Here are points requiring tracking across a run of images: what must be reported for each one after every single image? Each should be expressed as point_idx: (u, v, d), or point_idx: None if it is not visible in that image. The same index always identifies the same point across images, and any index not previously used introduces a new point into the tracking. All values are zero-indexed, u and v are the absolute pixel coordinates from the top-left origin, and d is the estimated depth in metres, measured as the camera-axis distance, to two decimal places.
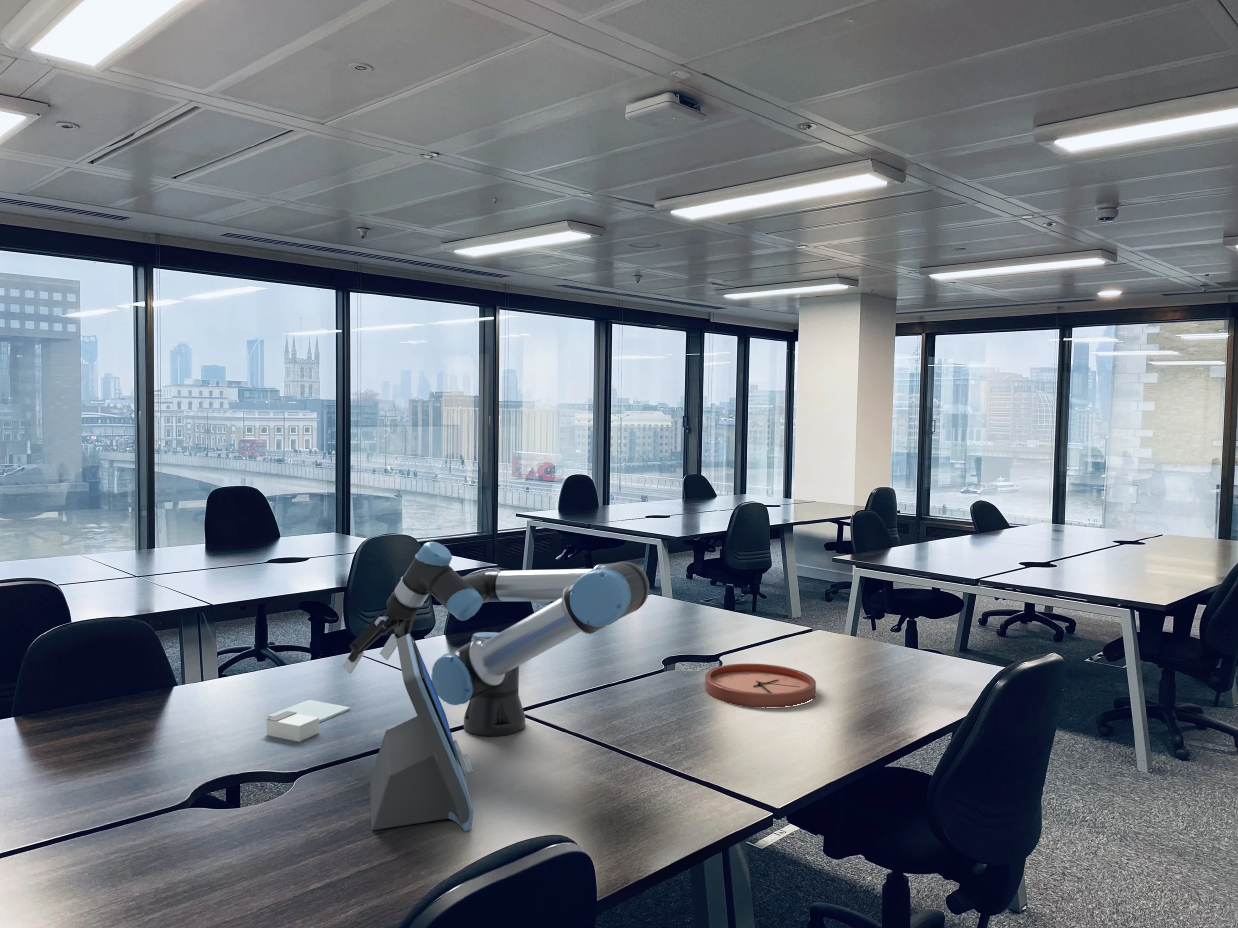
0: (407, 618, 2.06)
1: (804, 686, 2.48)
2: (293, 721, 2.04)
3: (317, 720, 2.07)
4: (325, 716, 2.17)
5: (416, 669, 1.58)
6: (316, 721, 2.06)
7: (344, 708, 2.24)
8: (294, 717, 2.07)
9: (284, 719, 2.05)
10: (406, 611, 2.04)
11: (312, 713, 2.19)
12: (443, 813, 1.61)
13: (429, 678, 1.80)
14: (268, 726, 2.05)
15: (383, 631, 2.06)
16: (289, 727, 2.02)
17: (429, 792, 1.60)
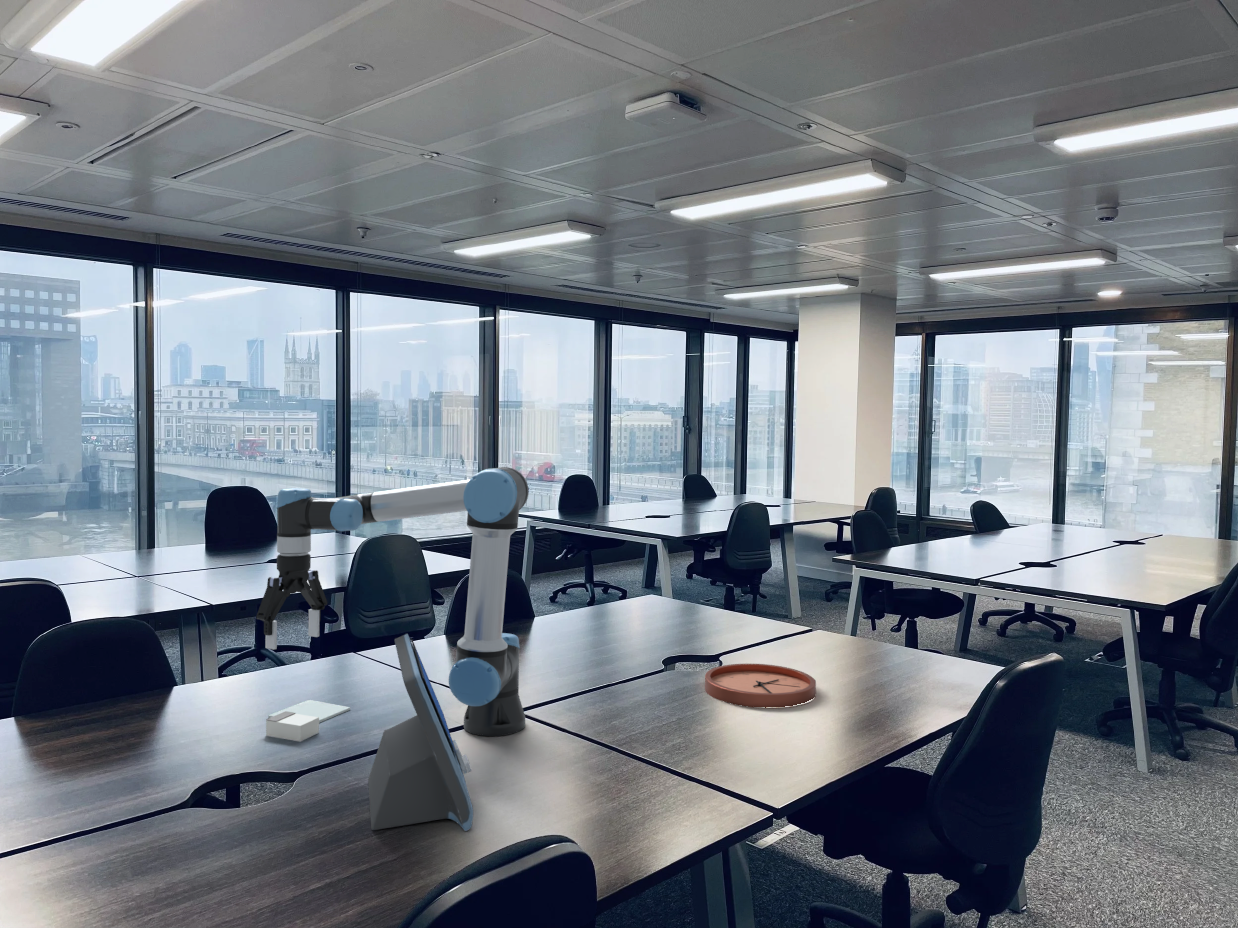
0: (300, 568, 2.02)
1: (804, 686, 2.48)
2: (294, 721, 2.04)
3: (317, 719, 2.07)
4: (325, 716, 2.17)
5: (416, 669, 1.58)
6: (316, 721, 2.07)
7: (344, 708, 2.24)
8: (293, 717, 2.07)
9: (284, 719, 2.05)
10: (295, 560, 2.01)
11: (312, 713, 2.19)
12: (443, 812, 1.61)
13: (427, 678, 1.80)
14: (267, 726, 2.05)
15: (285, 592, 2.01)
16: (290, 727, 2.02)
17: (429, 792, 1.60)
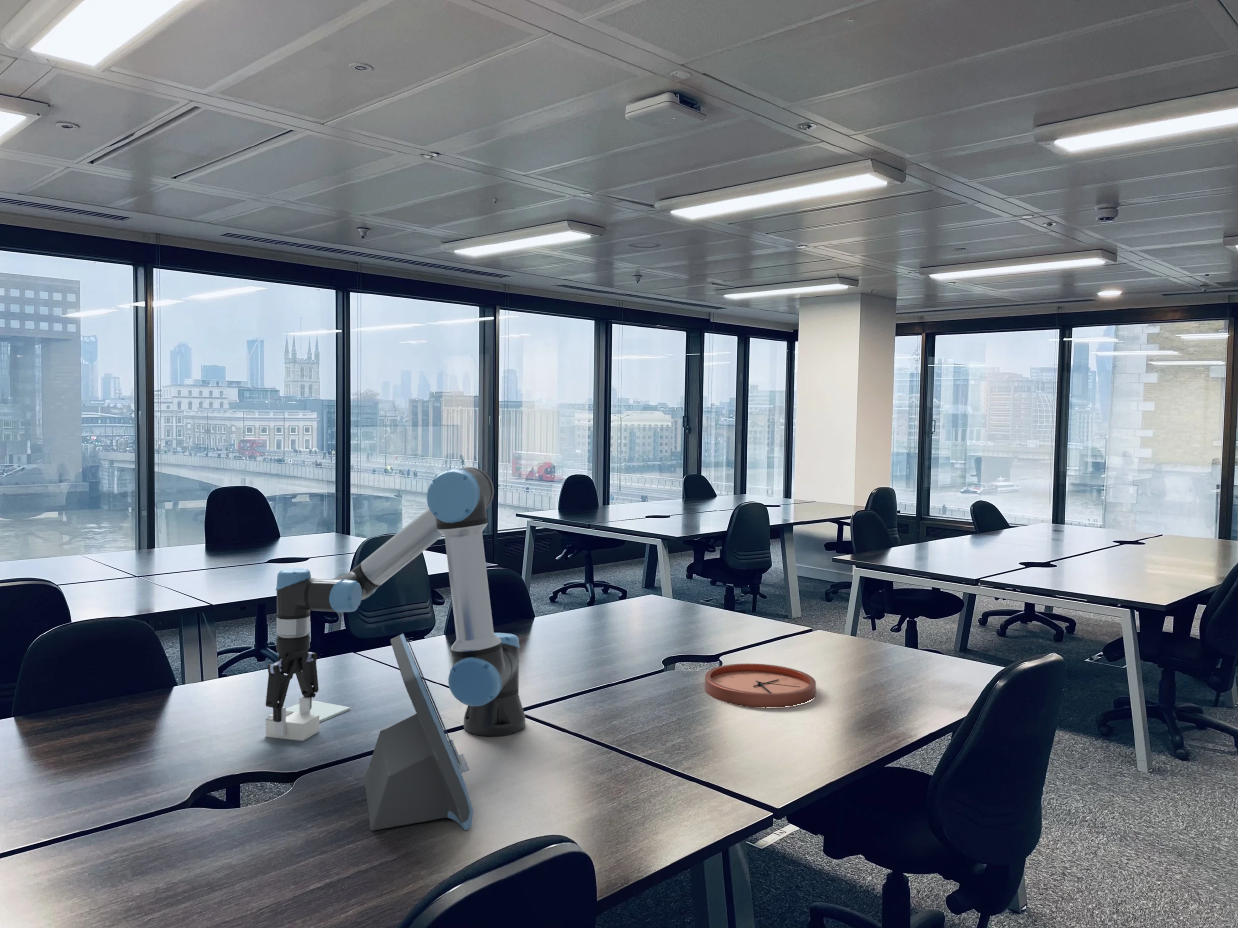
0: (300, 649, 2.03)
1: (804, 686, 2.48)
2: (295, 720, 2.04)
3: (318, 717, 2.08)
4: (325, 716, 2.17)
5: (415, 669, 1.58)
6: (317, 719, 2.07)
7: (344, 708, 2.24)
8: (293, 716, 2.07)
9: None
10: (295, 642, 2.02)
11: (312, 713, 2.19)
12: (442, 812, 1.61)
13: (424, 678, 1.80)
14: (267, 726, 2.04)
15: (287, 676, 2.02)
16: (292, 726, 2.02)
17: (428, 791, 1.60)
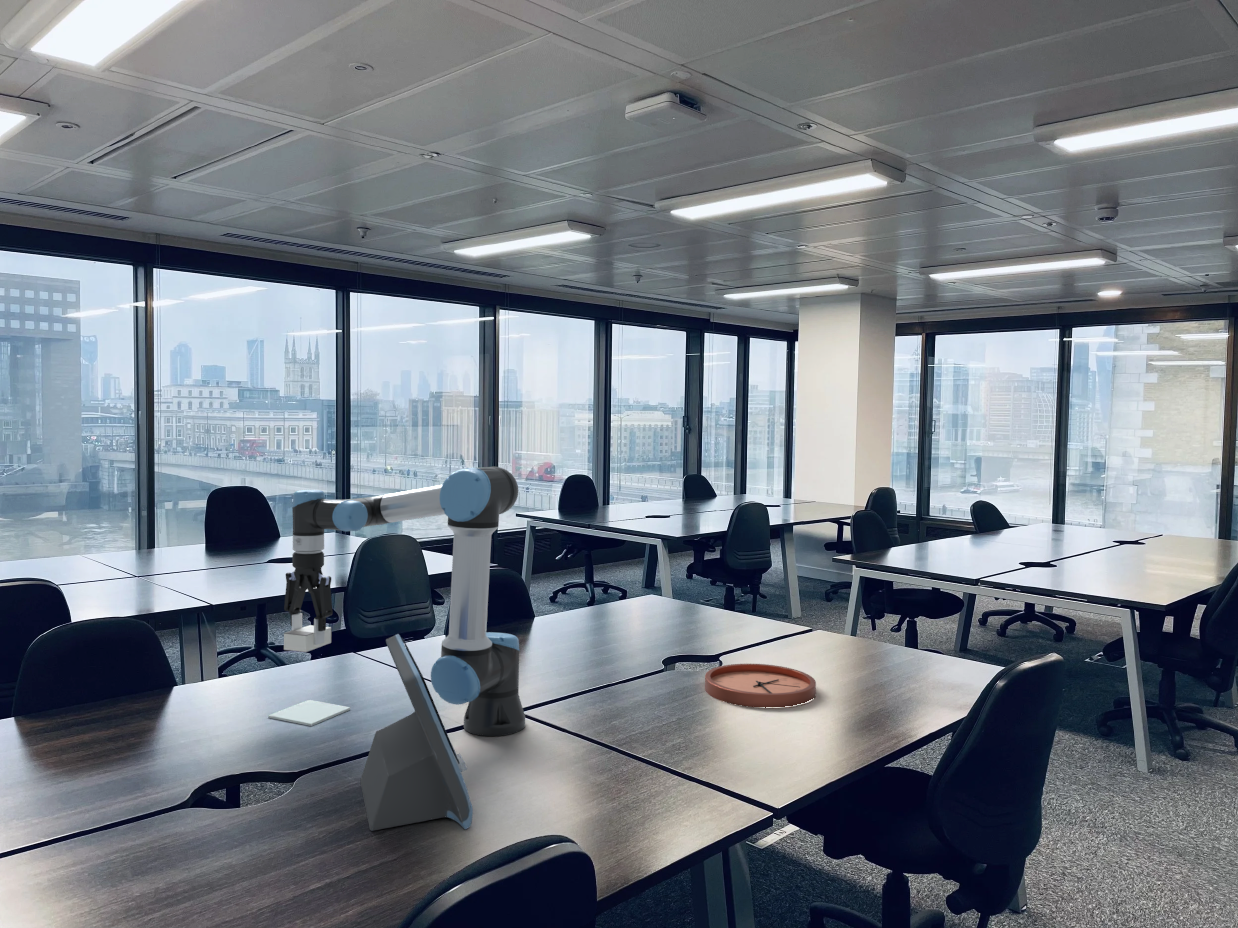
0: None
1: (804, 686, 2.48)
2: None
3: None
4: (325, 716, 2.17)
5: (415, 669, 1.58)
6: None
7: (344, 708, 2.24)
8: (305, 630, 2.18)
9: (308, 632, 2.16)
10: None
11: (312, 713, 2.19)
12: (441, 811, 1.62)
13: None
14: (307, 641, 2.13)
15: None
16: (324, 633, 2.19)
17: (427, 791, 1.61)
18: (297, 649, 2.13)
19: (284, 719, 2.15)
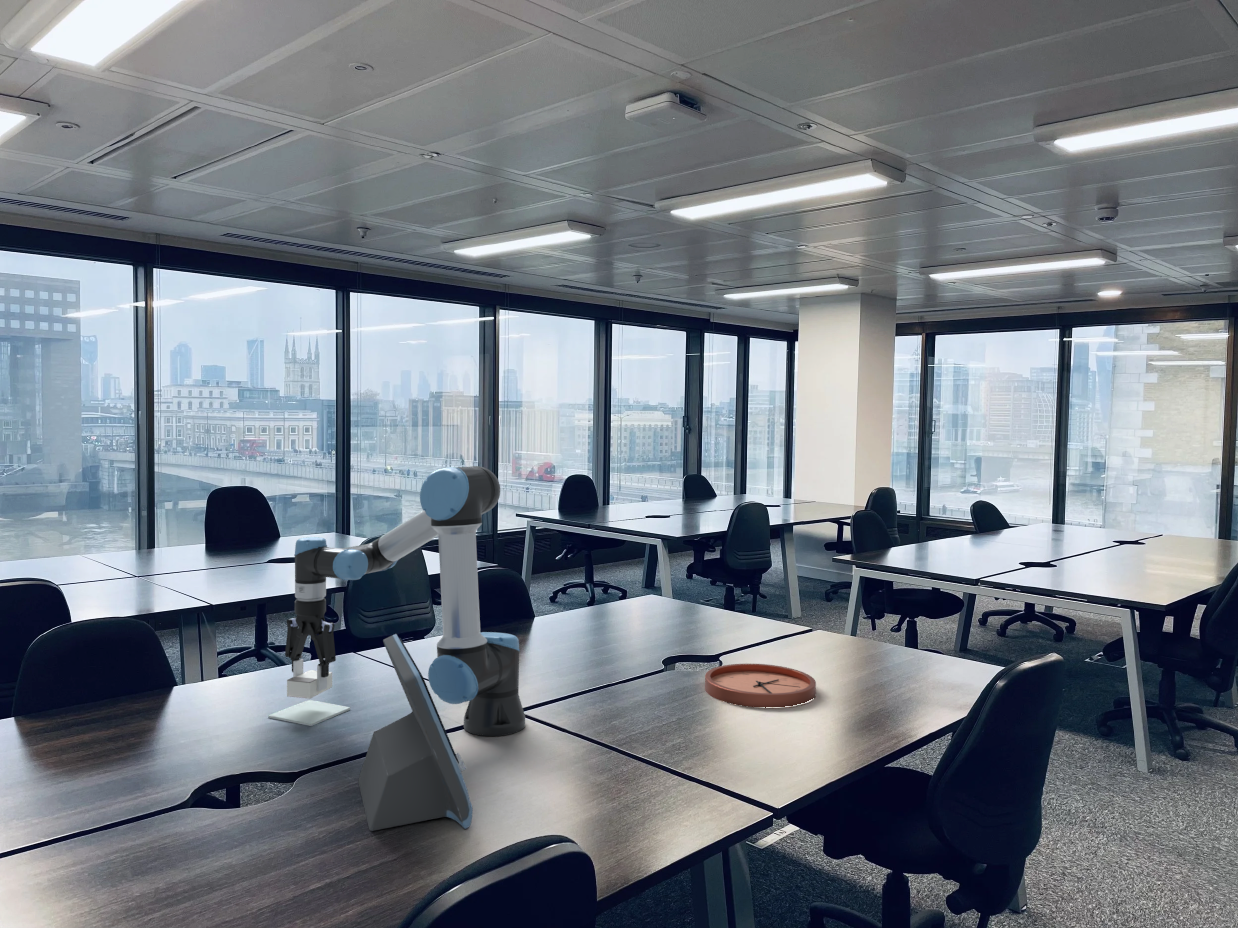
0: None
1: (804, 686, 2.48)
2: None
3: None
4: (325, 716, 2.17)
5: (414, 669, 1.58)
6: None
7: (344, 708, 2.24)
8: (307, 676, 2.20)
9: (311, 678, 2.19)
10: None
11: (312, 713, 2.19)
12: (441, 811, 1.62)
13: None
14: (311, 688, 2.16)
15: (323, 634, 2.20)
16: None
17: (427, 791, 1.61)
18: (301, 696, 2.16)
19: (284, 719, 2.15)
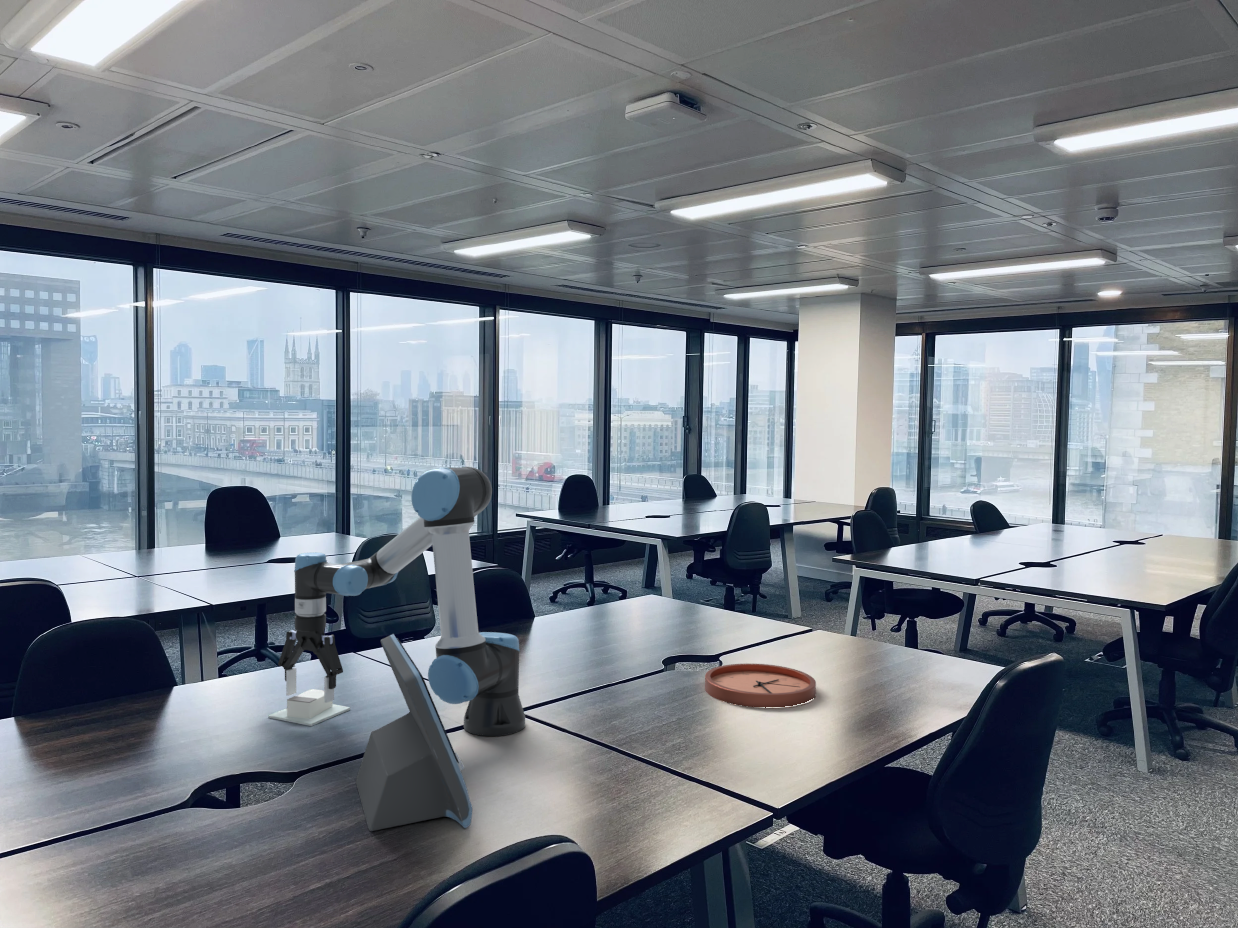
0: None
1: (804, 686, 2.48)
2: (320, 694, 2.22)
3: None
4: (325, 716, 2.17)
5: (414, 669, 1.58)
6: None
7: (344, 708, 2.24)
8: (307, 695, 2.21)
9: (311, 697, 2.19)
10: None
11: None
12: (440, 811, 1.62)
13: None
14: (310, 708, 2.16)
15: (325, 648, 2.20)
16: None
17: (426, 791, 1.61)
18: (300, 716, 2.16)
19: (284, 719, 2.15)
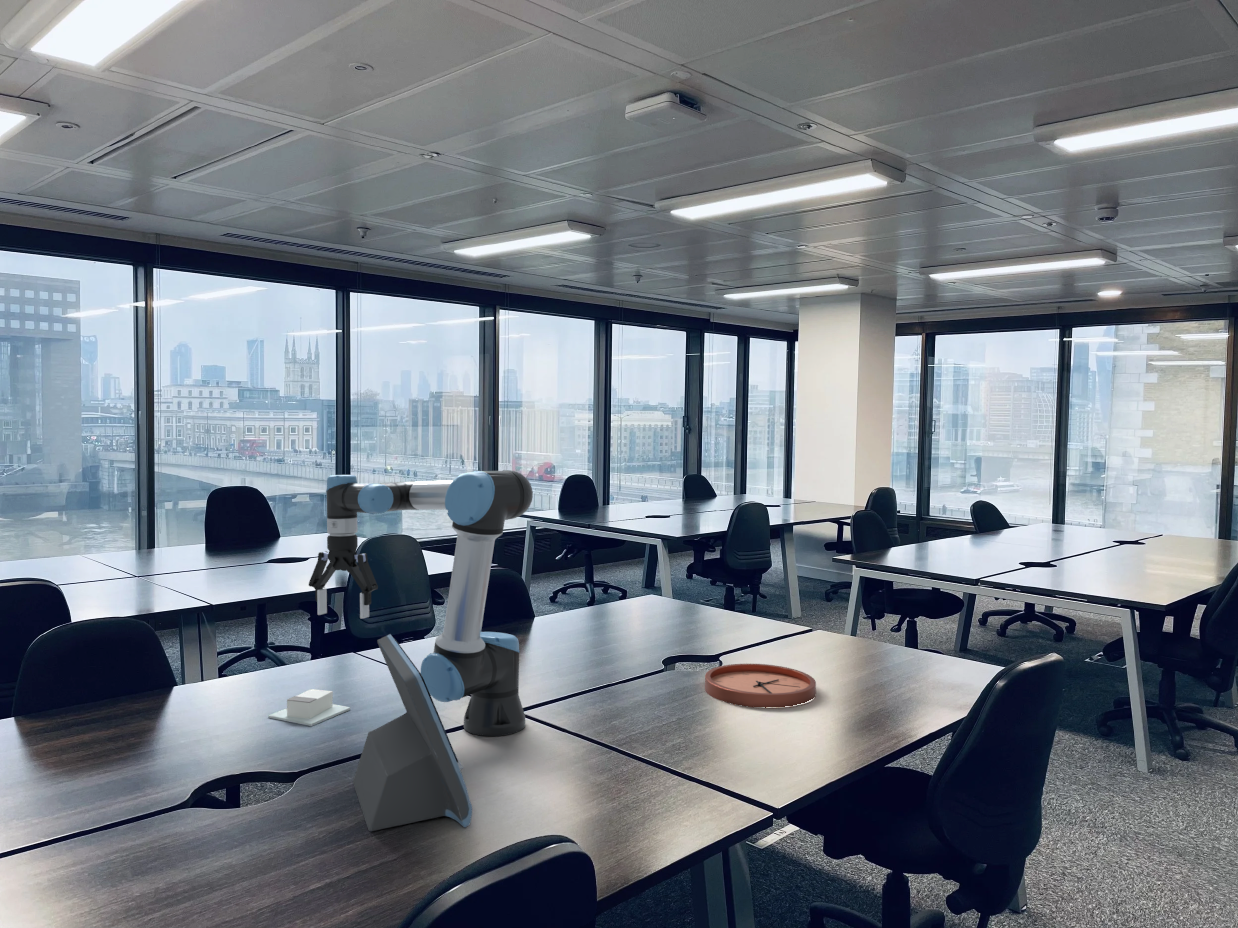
0: None
1: (804, 686, 2.48)
2: (320, 694, 2.22)
3: None
4: (325, 716, 2.17)
5: (414, 668, 1.58)
6: None
7: (344, 708, 2.24)
8: (307, 695, 2.21)
9: (311, 697, 2.19)
10: None
11: None
12: (440, 810, 1.62)
13: None
14: (310, 708, 2.16)
15: (358, 567, 2.24)
16: (326, 697, 2.22)
17: (426, 790, 1.61)
18: (300, 716, 2.16)
19: (284, 719, 2.15)
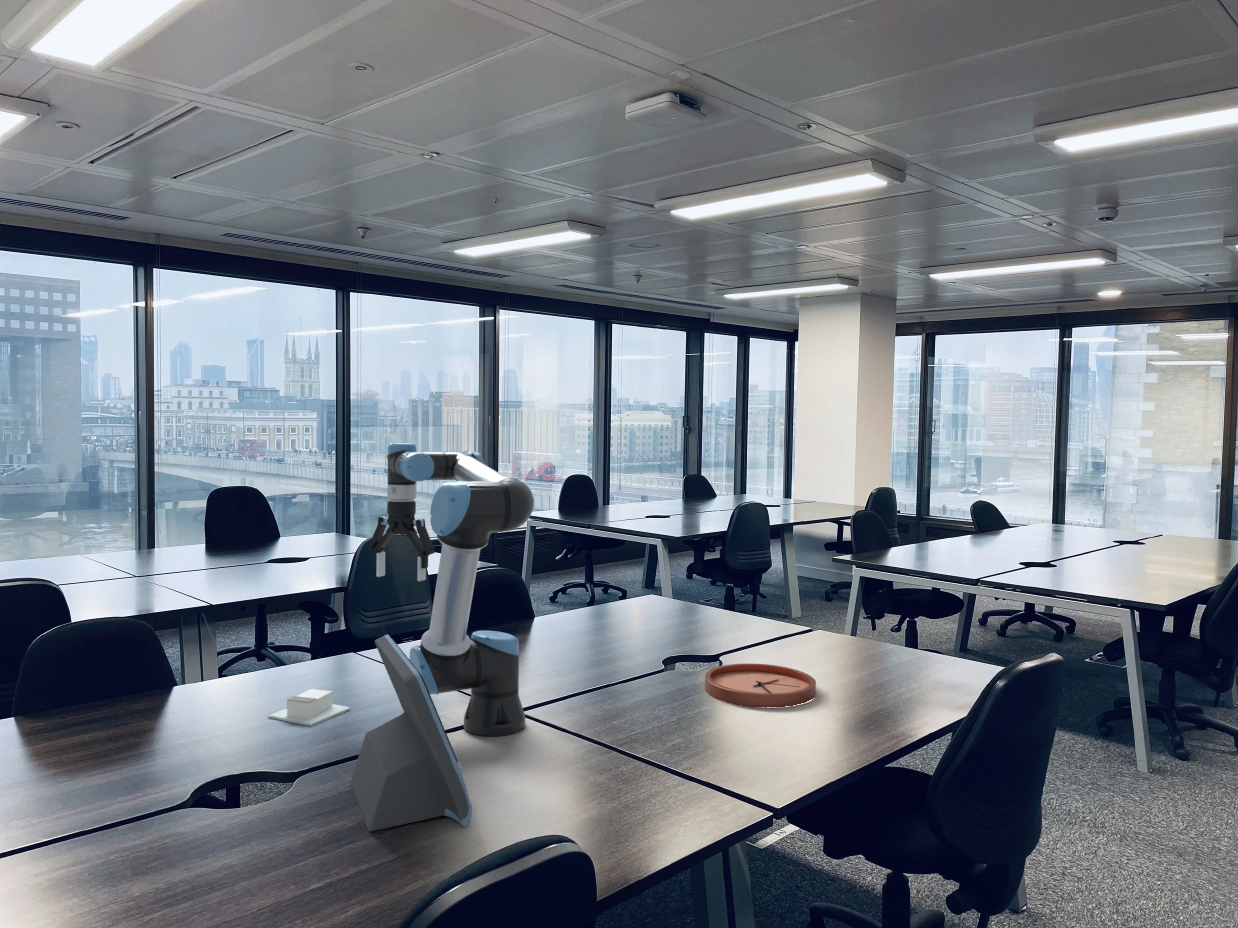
0: None
1: (804, 686, 2.48)
2: (320, 694, 2.22)
3: None
4: (325, 716, 2.17)
5: (413, 668, 1.58)
6: None
7: (344, 708, 2.24)
8: (307, 695, 2.21)
9: (311, 697, 2.19)
10: None
11: None
12: (439, 810, 1.62)
13: None
14: (310, 708, 2.16)
15: (416, 532, 2.33)
16: (326, 697, 2.22)
17: (425, 790, 1.61)
18: (300, 716, 2.16)
19: (284, 719, 2.15)
